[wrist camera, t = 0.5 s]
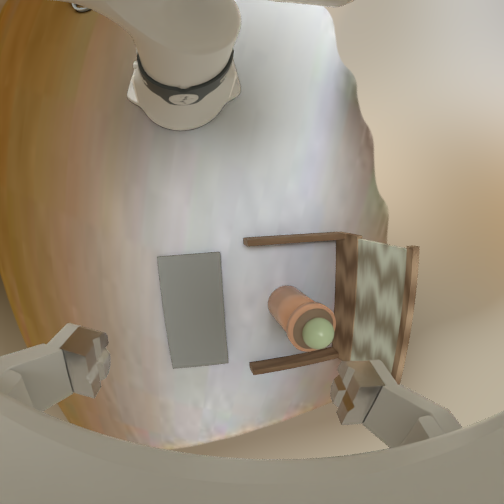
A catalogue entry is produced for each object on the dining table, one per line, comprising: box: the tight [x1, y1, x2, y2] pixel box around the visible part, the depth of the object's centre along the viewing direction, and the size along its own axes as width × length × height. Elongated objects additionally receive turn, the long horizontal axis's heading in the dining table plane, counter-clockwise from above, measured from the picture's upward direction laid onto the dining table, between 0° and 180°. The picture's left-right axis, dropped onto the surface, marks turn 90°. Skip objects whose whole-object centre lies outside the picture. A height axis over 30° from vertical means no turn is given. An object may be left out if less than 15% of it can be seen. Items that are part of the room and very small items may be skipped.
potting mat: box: [157, 252, 228, 369], centre depth 47 cm, size 20×10×1 cm, turn 3°
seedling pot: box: [268, 286, 336, 352], centre depth 43 cm, size 7×7×16 cm
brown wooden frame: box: [243, 232, 419, 385], centre depth 41 cm, size 24×18×20 cm
